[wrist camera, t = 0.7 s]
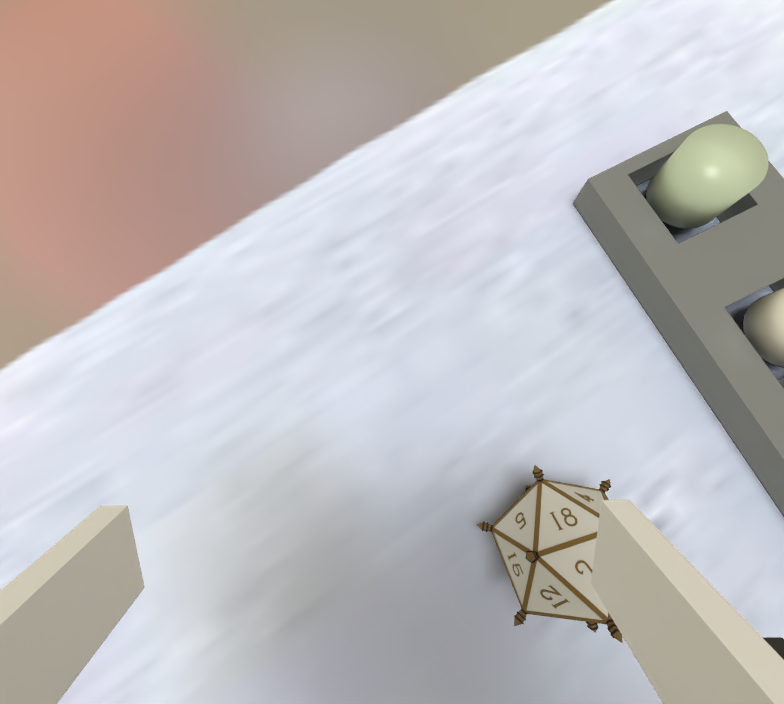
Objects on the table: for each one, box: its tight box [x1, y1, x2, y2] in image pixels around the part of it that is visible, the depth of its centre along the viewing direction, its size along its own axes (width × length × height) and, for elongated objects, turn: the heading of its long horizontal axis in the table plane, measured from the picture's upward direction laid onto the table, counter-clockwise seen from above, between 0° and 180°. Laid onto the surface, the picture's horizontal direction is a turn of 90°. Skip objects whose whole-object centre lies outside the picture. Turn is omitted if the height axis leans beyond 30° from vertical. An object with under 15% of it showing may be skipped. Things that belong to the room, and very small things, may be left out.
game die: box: [477, 465, 622, 642], centre depth 22 cm, size 9×8×10 cm
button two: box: [646, 124, 769, 228], centre depth 26 cm, size 5×5×4 cm
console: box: [573, 111, 784, 516], centre depth 26 cm, size 30×12×3 cm, turn 26°
